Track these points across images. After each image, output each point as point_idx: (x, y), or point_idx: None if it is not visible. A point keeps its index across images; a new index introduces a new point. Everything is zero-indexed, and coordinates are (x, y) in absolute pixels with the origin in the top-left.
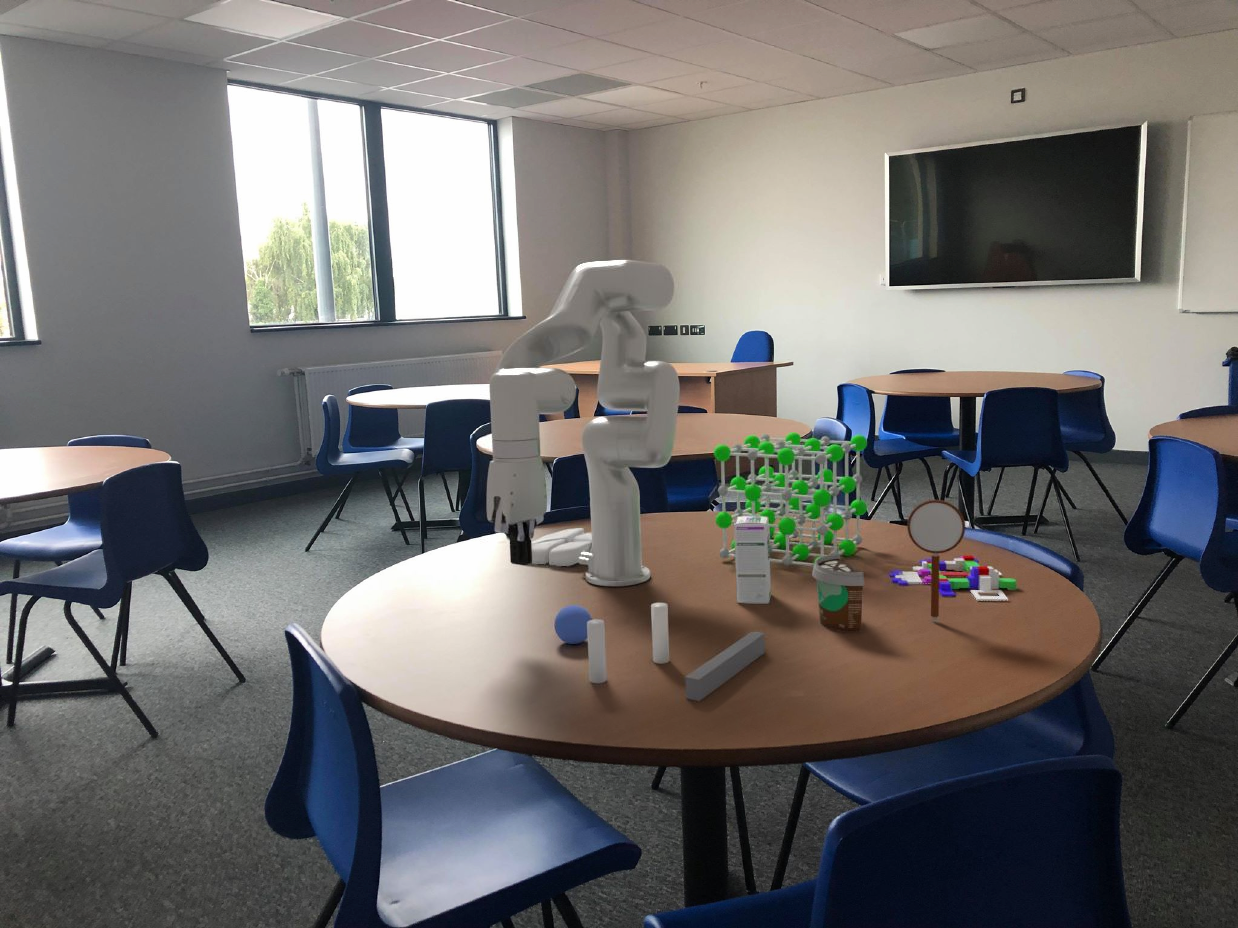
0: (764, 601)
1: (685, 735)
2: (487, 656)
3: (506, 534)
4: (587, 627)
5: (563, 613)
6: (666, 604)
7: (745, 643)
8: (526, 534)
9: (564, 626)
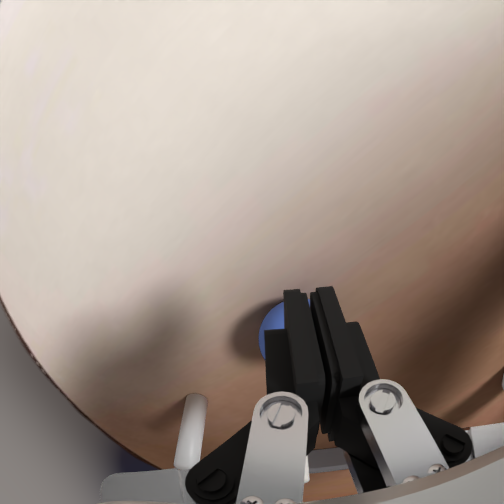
0: (502, 385)
1: (167, 462)
2: (141, 227)
3: (217, 453)
4: (175, 457)
5: None
6: (304, 482)
7: (327, 470)
8: (347, 448)
9: (260, 350)
